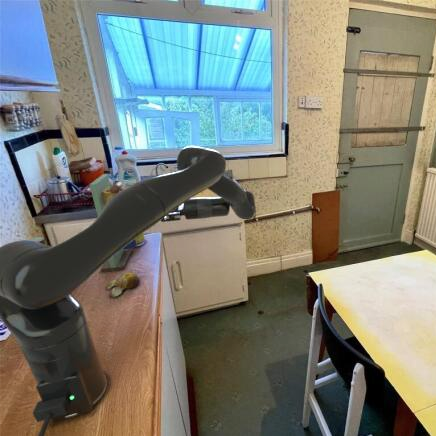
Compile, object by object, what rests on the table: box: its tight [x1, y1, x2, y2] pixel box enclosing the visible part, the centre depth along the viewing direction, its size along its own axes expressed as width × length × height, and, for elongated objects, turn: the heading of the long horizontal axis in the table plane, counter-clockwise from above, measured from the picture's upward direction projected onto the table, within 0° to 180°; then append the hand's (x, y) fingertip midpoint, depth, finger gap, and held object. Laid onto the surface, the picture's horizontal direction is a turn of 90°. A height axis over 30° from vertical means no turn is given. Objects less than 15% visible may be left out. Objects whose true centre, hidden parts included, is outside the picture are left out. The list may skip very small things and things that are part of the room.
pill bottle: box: [134, 232, 146, 248], centre depth 111 cm, size 6×6×11 cm
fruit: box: [107, 272, 140, 297], centre depth 87 cm, size 8×8×4 cm
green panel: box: [89, 173, 132, 273], centre depth 95 cm, size 11×12×30 cm
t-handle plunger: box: [110, 181, 137, 250], centre depth 95 cm, size 8×5×22 cm, turn 15°
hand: (149, 211), depth 97 cm, fingers open, 8 cm apart
